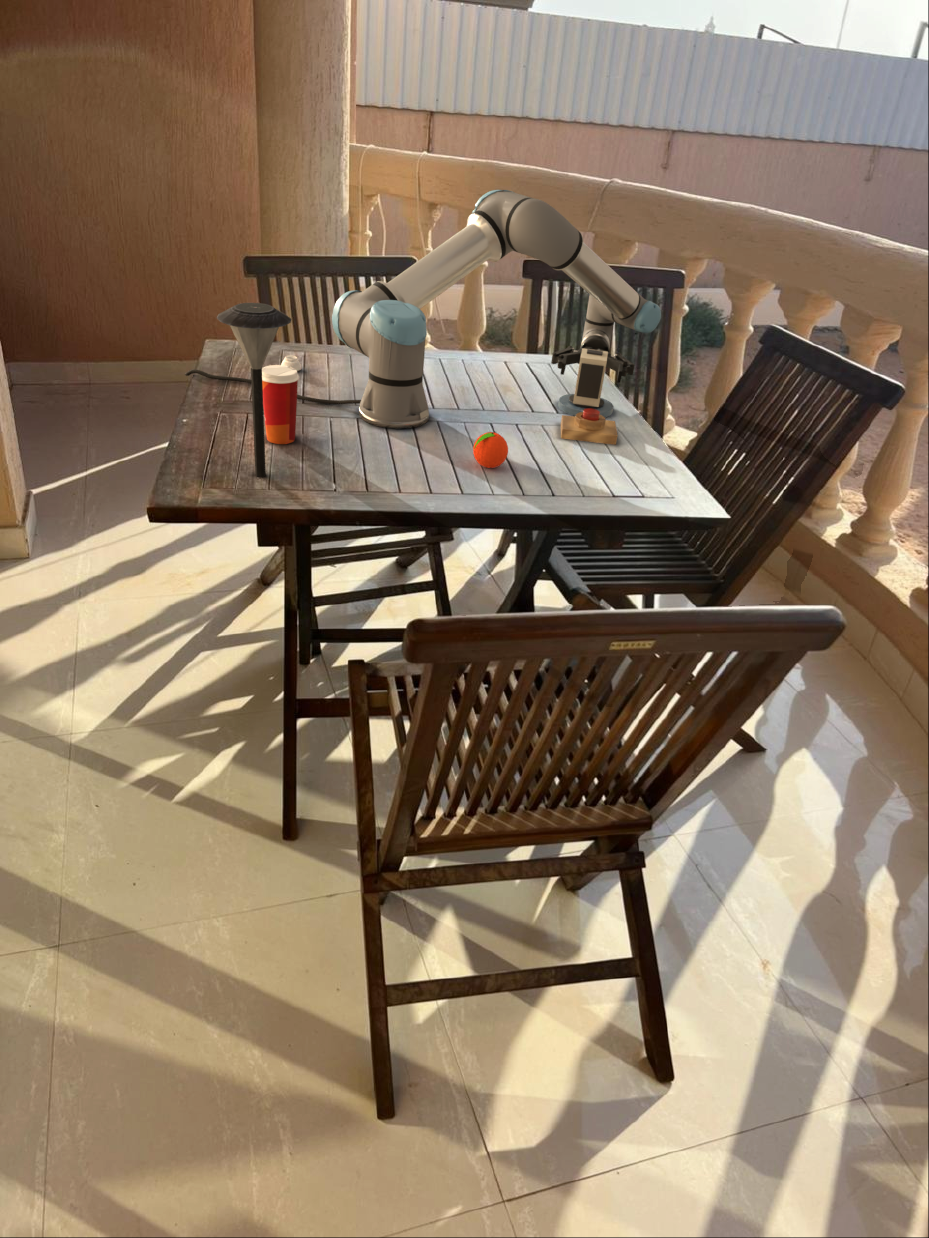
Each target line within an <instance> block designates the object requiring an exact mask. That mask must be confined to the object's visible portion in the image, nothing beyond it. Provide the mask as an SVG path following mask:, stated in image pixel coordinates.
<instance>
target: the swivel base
mask: <svg viewBox="0 0 929 1238" xmlns="http://www.w3.org/2000/svg"><path fill="white" fill-rule="evenodd" d="M571 395H575V393H568V394H564V395H562V396H560V397H559V398H558V403H557V407H558V408H559V410H560V411H561V412H564V413H565V414H568V415H569V416H575V417H576V414H577V413H579V412H583V410H584V409H587V408H588V407H582V406H578V405H575V404H573V403H571V402H570V401H569V397H570V396H571ZM600 398H601V399H602V400H603V401H604V405H603V406H602V407H597V408H591V409H596V410H598V411H599V412H600V415H602V416H603V417H605V418H609V417H610V416H612V415H613V411H614V404H613V403H612V402H611V401H610V400H608V399H605V398H603V397H600Z"/></svg>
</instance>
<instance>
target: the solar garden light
mask: <svg viewBox="0 0 929 1238" xmlns="http://www.w3.org/2000/svg"><path fill="white" fill-rule="evenodd" d="M216 319H217V321H219V323H222V324H225V325H227V326H229V327H230V329H231V331H232V333H233V336H234V337H235V339H236V342H237V344H238V345H239V347H240V349H241V351H242V353H243V355H244V357H245V359H246V361H247V363H248V365H249V367H250V376H251V377H250V379H251V383H252V384H251V383H250V384H251V404H252V407H251V408H252V426H253V429H252V430H253V449H254V452H253V453H254V474H255V475H254V476H256V477H258V478H263V477H266V475H267V474H266V473H267V470H266V468H267V467H266V446H265V445H266V444H265V417H264V407H263V384H262V368H263V366H264V363H265V362H266V359H267V357H268V354H269V351H270V349H271V347H272V346H273V343H274V340H275V338H276V336H277V333H278V331H279V328H280V327H285V326H288V325H289V324H291V323H292V318H291V316H290V317H289V315H287V314H286V313H284V312H282V311H281V310H279V309H277V308H276V307H274V306H272V305H270V304H267V303H261V302H241V303H237V304H235V305H233V306H231V307H230V308H229V307H228V309H225V310H224V311H222V312H219V313H218V314H217V316H216Z"/></svg>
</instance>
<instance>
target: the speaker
mask: <svg viewBox="0 0 929 1238" xmlns="http://www.w3.org/2000/svg"><path fill="white" fill-rule="evenodd" d="M607 356H608V352H606V351H599V350H592V349H584V348H582V353H581V358H580V364H578V371H577V376H576V383H575V390H574V394H575V395H571V396H570V397H569V401H570V402H571V403H573V404H575V405H578V406H582V407H588V408H597V407H602V406H603V405H604V401H603V400H602V399H601V398H602V397H601V396H602V390H603V385H604V379H605V373H606V369H607V368H606V363H607Z"/></svg>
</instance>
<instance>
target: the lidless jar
mask: <svg viewBox="0 0 929 1238" xmlns="http://www.w3.org/2000/svg"><path fill="white" fill-rule="evenodd" d="M300 362H301V361H299V359H298V357H297V356H295V355H285V356H284V359H283V360H282V362H281V364H280V365H285V366H289V367H291V368H294V369H295V370H297V372H299V371H301V370H302V369H303V366H302V364H301V363H300Z"/></svg>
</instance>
